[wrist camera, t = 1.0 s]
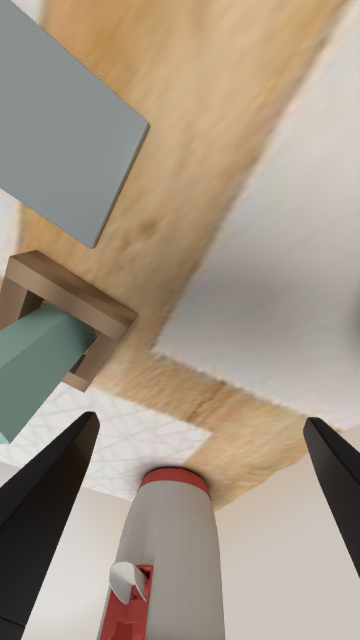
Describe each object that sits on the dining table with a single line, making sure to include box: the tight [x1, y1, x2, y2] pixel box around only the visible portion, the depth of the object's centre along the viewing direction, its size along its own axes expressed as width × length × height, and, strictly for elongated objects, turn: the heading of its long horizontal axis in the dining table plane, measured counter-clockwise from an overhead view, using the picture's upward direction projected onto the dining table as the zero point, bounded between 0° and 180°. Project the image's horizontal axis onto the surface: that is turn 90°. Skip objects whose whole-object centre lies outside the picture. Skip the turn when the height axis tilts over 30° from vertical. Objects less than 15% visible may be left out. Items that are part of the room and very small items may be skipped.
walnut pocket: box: [0, 250, 137, 393], centre depth 21 cm, size 11×11×3 cm
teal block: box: [0, 304, 96, 444], centre depth 17 cm, size 4×4×12 cm
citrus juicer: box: [97, 468, 225, 640], centre depth 29 cm, size 16×17×20 cm
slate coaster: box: [0, 0, 150, 249], centre depth 15 cm, size 10×10×1 cm
